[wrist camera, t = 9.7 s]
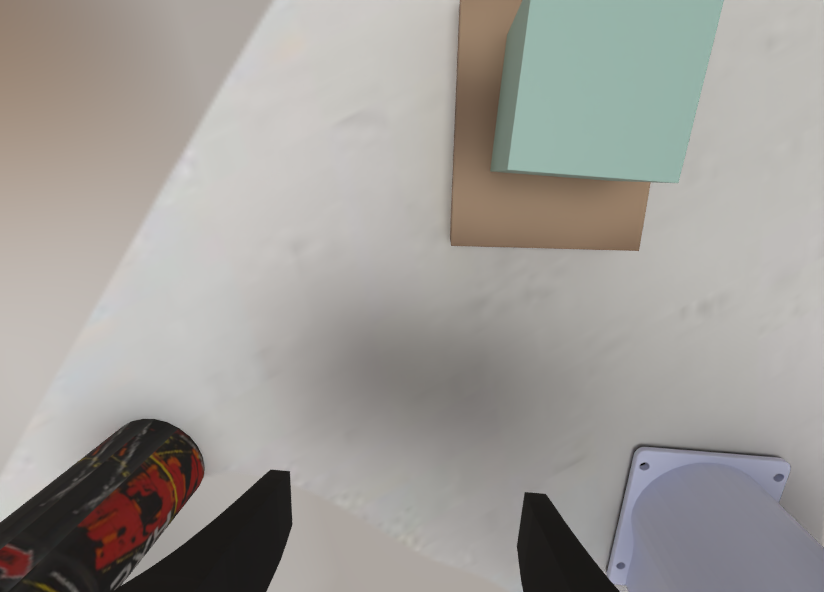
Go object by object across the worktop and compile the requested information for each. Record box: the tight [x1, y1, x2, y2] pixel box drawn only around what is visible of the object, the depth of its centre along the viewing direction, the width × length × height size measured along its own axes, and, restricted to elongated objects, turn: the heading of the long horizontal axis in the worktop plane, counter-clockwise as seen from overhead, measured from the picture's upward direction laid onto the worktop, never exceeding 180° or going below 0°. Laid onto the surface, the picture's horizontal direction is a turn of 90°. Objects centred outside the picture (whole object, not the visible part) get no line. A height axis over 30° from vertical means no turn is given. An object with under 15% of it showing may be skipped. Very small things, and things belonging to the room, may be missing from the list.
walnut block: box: [450, 0, 650, 251], centre depth 18 cm, size 10×8×3 cm
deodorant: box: [0, 419, 204, 592], centre depth 19 cm, size 6×6×15 cm
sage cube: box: [490, 0, 724, 183], centre depth 14 cm, size 5×5×5 cm
